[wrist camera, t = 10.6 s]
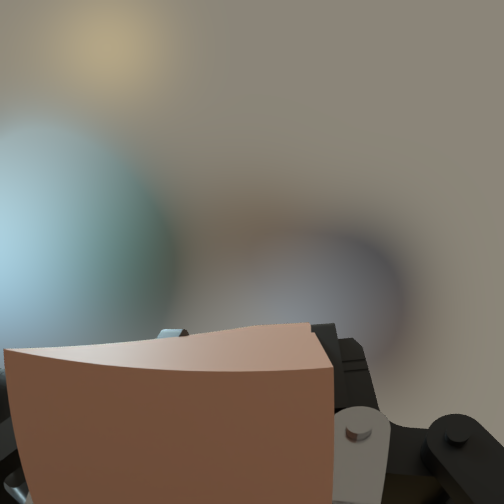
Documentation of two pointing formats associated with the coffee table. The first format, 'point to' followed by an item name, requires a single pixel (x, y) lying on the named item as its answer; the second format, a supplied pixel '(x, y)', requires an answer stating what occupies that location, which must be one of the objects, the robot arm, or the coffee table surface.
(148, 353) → the brick
